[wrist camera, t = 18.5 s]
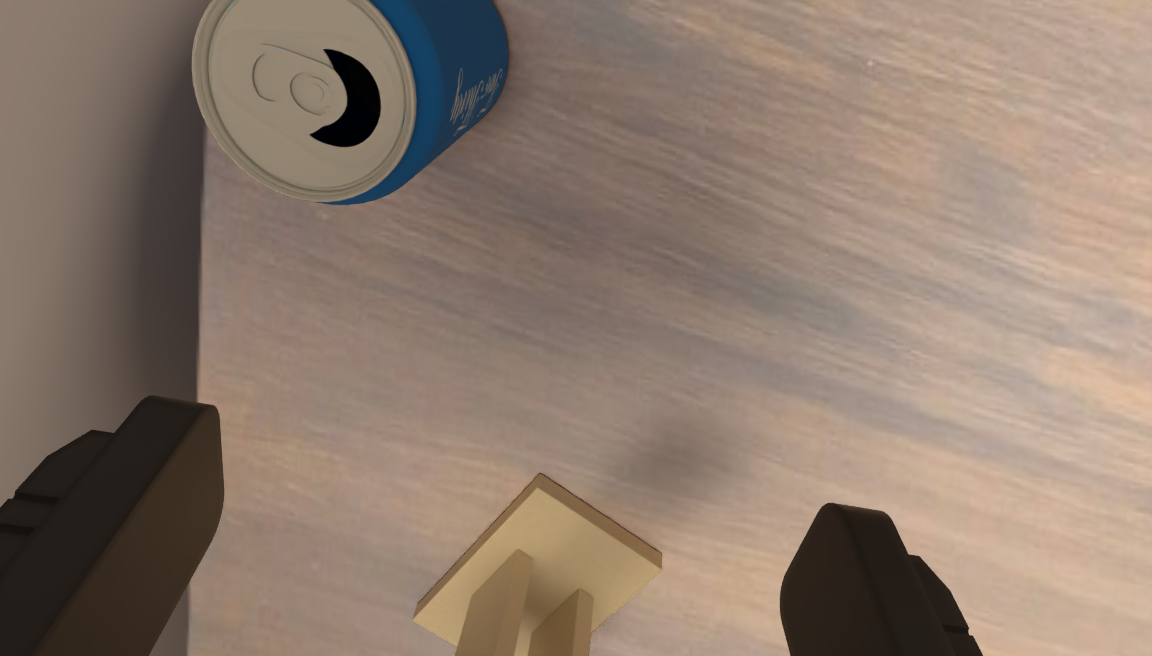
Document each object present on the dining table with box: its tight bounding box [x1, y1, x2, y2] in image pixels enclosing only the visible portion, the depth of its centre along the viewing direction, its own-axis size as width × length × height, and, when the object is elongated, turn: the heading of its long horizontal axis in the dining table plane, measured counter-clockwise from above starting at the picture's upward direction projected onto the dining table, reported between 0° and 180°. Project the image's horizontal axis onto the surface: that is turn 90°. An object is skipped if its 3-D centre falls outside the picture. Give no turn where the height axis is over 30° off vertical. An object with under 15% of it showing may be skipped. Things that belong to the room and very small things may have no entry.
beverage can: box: [192, 0, 508, 205], centre depth 24 cm, size 6×6×12 cm
